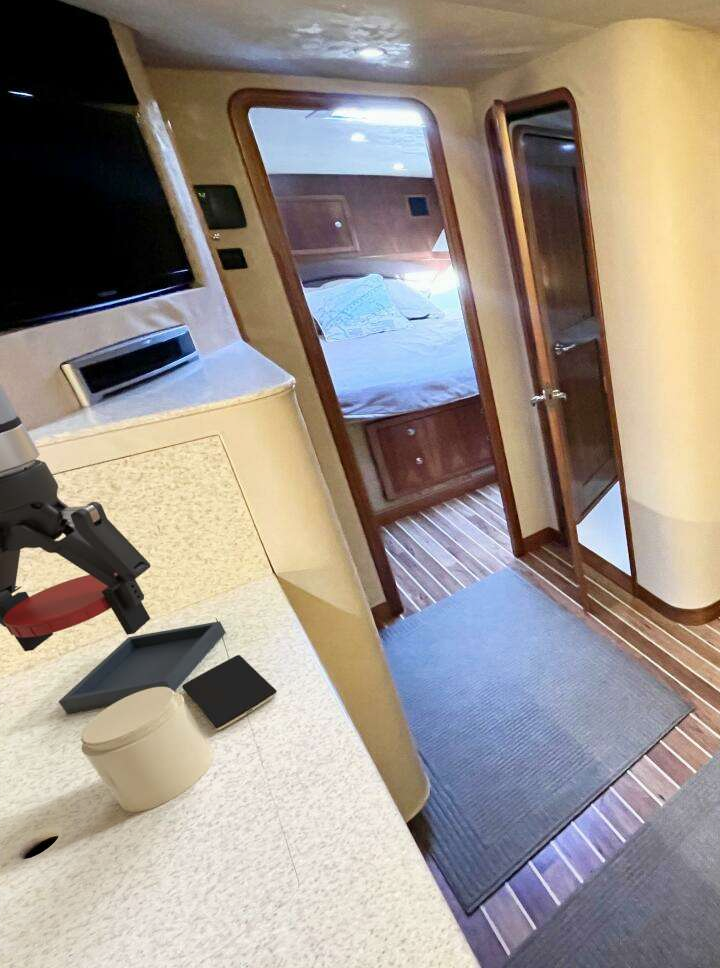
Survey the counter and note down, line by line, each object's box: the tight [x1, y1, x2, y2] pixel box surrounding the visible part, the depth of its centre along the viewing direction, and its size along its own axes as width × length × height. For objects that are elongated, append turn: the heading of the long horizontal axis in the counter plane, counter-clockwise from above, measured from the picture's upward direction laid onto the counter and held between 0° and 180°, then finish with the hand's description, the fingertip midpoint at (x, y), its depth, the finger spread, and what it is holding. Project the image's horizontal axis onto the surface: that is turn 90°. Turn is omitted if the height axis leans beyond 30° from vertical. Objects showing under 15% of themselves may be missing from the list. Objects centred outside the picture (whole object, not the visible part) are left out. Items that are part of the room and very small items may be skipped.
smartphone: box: [182, 654, 278, 731], centre depth 82 cm, size 7×1×15 cm
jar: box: [80, 687, 215, 813], centre depth 68 cm, size 9×9×12 cm
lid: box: [3, 572, 117, 637], centre depth 63 cm, size 10×10×2 cm
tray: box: [58, 620, 227, 715], centre depth 87 cm, size 14×14×3 cm
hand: (90, 634), depth 65 cm, fingers closed on lid, 9 cm apart
